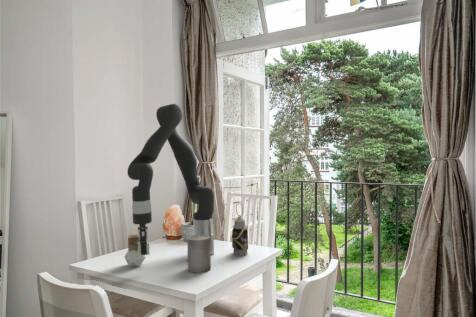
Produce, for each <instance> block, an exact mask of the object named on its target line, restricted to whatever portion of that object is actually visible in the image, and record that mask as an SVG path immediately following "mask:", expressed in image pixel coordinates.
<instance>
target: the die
mask: <svg viewBox="0 0 476 317" xmlns="http://www.w3.org/2000/svg"><path fill="white" fill-rule="evenodd" d="M146 256H147V255H142V256H138V250H127V251H126V253H125V255H124V256H123V257H124V259H125V261H126V264H127V267H129V268H130V267H131V268H133V267H142V265H143V263H144V261H145V259H146Z"/></svg>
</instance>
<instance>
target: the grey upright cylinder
mask: <svg viewBox="0 0 476 317" xmlns="http://www.w3.org/2000/svg"><path fill="white" fill-rule="evenodd" d="M186 239H187V240H186V241H187V271H189V273H200V274H201V273H205V272H209V271H210V270H211V268H212V264H211V262H212V261H211V259H212V258H211V255H212V254H211V253H210V236H208V235H194V234H192V235H189V236H188V237H186Z"/></svg>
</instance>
